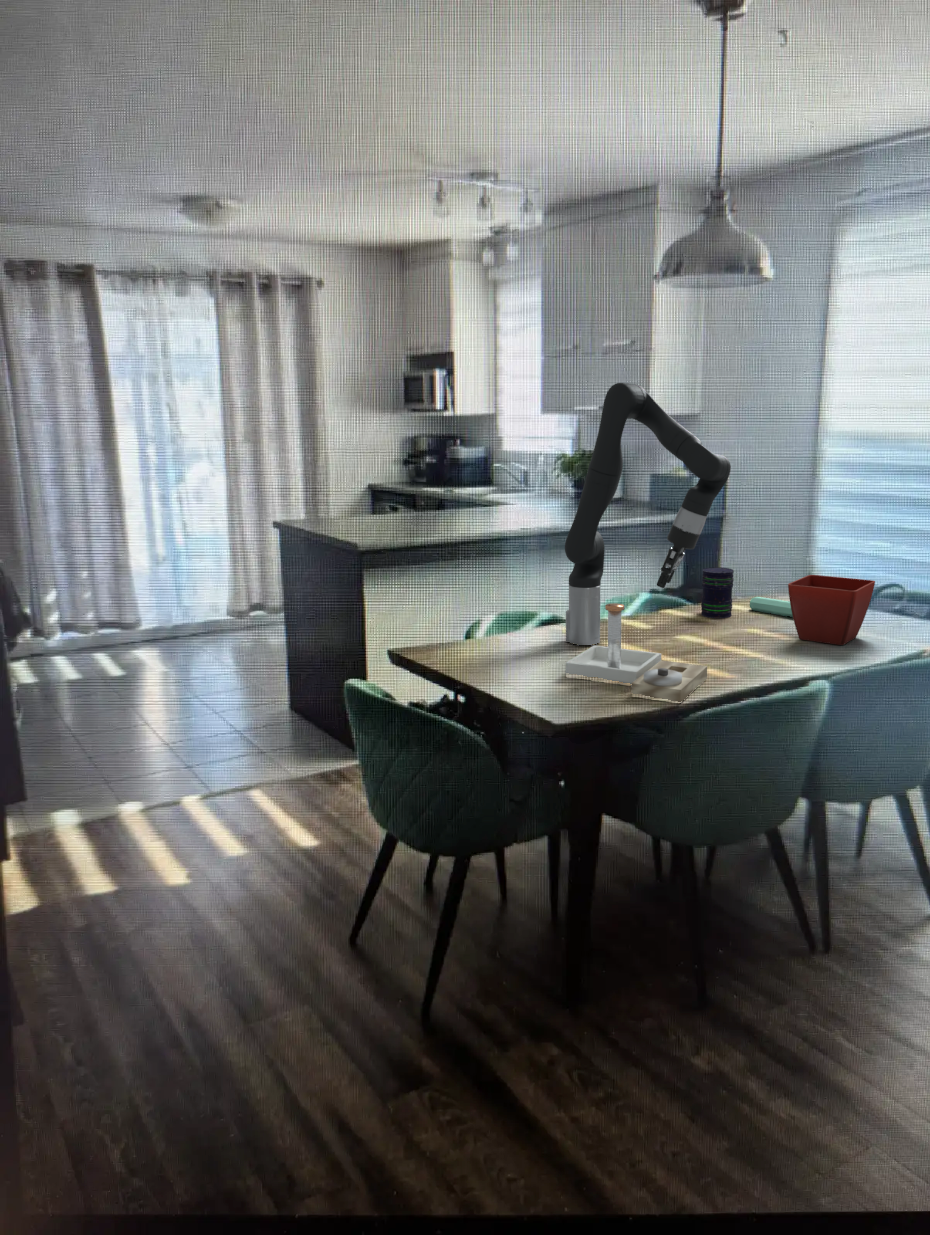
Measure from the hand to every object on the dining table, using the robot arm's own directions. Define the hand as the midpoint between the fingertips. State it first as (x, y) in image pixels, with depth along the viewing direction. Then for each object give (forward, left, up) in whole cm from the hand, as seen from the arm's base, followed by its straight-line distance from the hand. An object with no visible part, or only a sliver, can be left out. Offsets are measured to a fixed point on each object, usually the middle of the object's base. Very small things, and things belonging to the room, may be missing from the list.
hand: (662, 584), depth 242 cm
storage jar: (-2, +61, -22) cm, 65 cm away
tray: (-8, -15, -22) cm, 27 cm away
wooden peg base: (+9, -21, -22) cm, 31 cm away
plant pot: (+35, +45, -22) cm, 61 cm away
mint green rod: (+18, +70, -22) cm, 76 cm away
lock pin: (-8, -15, -21) cm, 26 cm away
